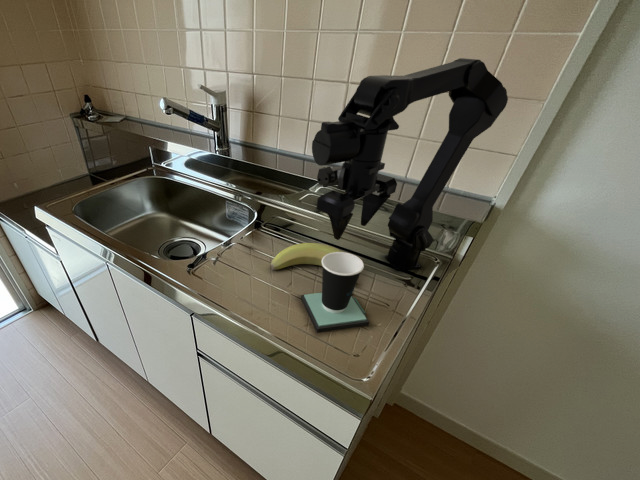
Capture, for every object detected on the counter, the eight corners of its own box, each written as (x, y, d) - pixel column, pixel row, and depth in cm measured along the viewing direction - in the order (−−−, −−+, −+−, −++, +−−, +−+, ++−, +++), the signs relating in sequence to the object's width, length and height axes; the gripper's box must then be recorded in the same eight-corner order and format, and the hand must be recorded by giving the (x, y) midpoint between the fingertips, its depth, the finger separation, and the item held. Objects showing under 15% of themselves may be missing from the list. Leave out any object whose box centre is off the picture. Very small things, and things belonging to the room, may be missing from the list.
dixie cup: (311, 294, 75) (317, 252, 68) (347, 293, 75) (357, 250, 68) (319, 319, 69) (326, 275, 62) (358, 317, 69) (369, 273, 62)
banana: (301, 226, 87) (371, 262, 78) (301, 241, 92) (367, 276, 83) (267, 258, 83) (337, 300, 74) (268, 272, 87) (335, 313, 78)
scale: (349, 292, 78) (350, 287, 77) (370, 325, 69) (372, 320, 68) (300, 299, 76) (301, 293, 75) (316, 333, 68) (317, 327, 67)
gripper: (359, 139, 72) (346, 207, 82) (299, 158, 64) (293, 232, 74) (407, 150, 66) (387, 223, 76) (348, 173, 57) (334, 252, 67)
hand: (350, 231), depth 73 cm, fingers open, 9 cm apart
